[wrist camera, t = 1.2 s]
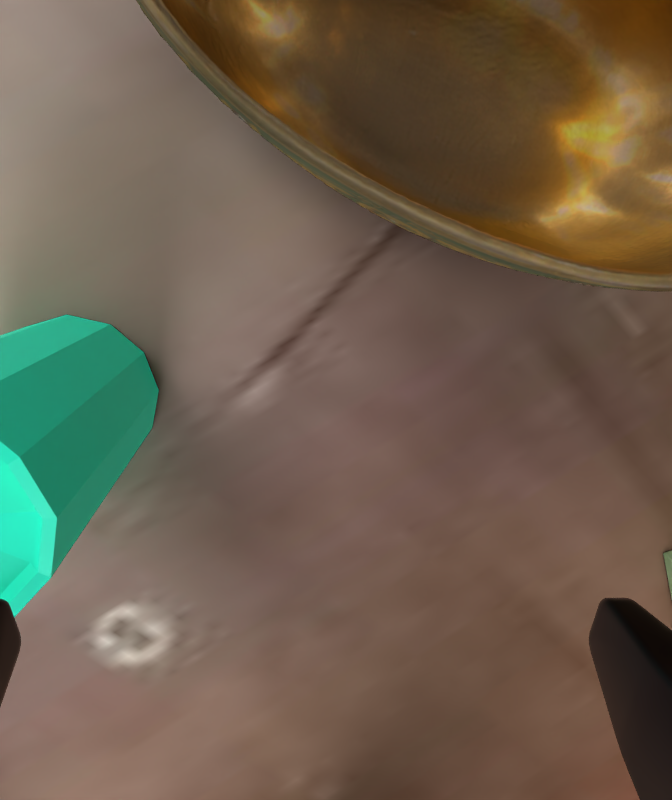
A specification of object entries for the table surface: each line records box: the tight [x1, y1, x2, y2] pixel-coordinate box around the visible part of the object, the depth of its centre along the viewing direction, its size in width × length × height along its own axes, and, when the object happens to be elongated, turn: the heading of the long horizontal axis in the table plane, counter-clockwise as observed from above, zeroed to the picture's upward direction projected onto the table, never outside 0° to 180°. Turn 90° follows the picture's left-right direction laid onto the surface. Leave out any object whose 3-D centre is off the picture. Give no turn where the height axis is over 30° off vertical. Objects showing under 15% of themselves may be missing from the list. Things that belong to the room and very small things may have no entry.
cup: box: [136, 0, 672, 291], centre depth 15 cm, size 13×20×10 cm, turn 43°
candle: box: [0, 315, 159, 617], centre depth 16 cm, size 6×6×12 cm
